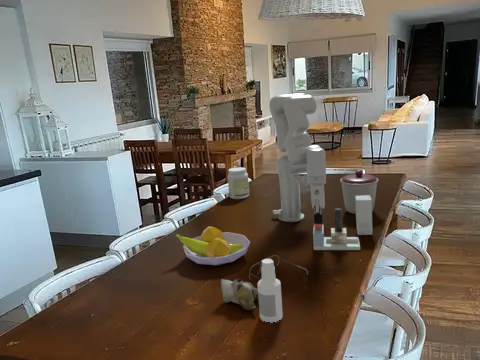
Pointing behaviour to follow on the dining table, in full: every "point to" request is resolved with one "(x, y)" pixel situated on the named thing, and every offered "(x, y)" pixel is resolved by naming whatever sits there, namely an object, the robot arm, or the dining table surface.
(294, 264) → the eyeglasses
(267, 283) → the white bottle
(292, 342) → the dining table surface
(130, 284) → the dining table surface
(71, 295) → the dining table surface
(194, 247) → the fruit bowl
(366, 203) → the skincare box
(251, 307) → the ceramic sculpture
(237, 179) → the supplement tub
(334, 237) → the carriage
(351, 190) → the canister
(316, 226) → the button
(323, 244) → the rail board
